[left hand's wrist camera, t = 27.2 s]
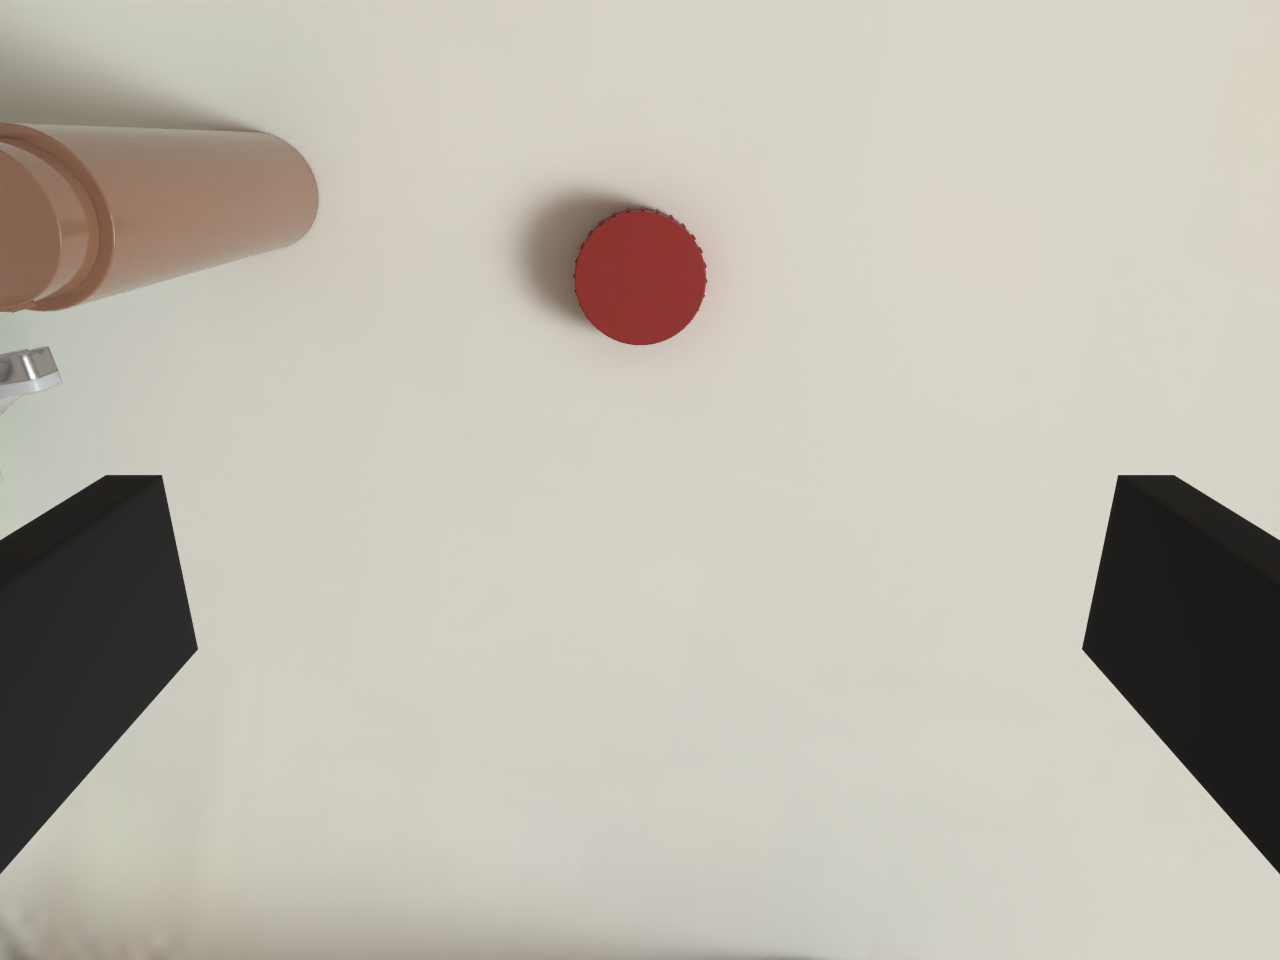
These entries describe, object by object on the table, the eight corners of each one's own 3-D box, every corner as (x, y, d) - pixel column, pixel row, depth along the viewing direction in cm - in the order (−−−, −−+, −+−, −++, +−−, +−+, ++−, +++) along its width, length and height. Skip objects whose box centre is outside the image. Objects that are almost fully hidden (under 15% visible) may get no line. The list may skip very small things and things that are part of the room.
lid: (707, 333, 39) (710, 342, 38) (582, 342, 39) (580, 351, 38) (701, 202, 37) (704, 204, 36) (569, 212, 37) (566, 215, 36)
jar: (187, 148, 37) (-167, 150, 21) (292, 118, 36) (16, 95, 20) (234, 260, 38) (-60, 343, 22) (335, 233, 38) (110, 296, 22)
